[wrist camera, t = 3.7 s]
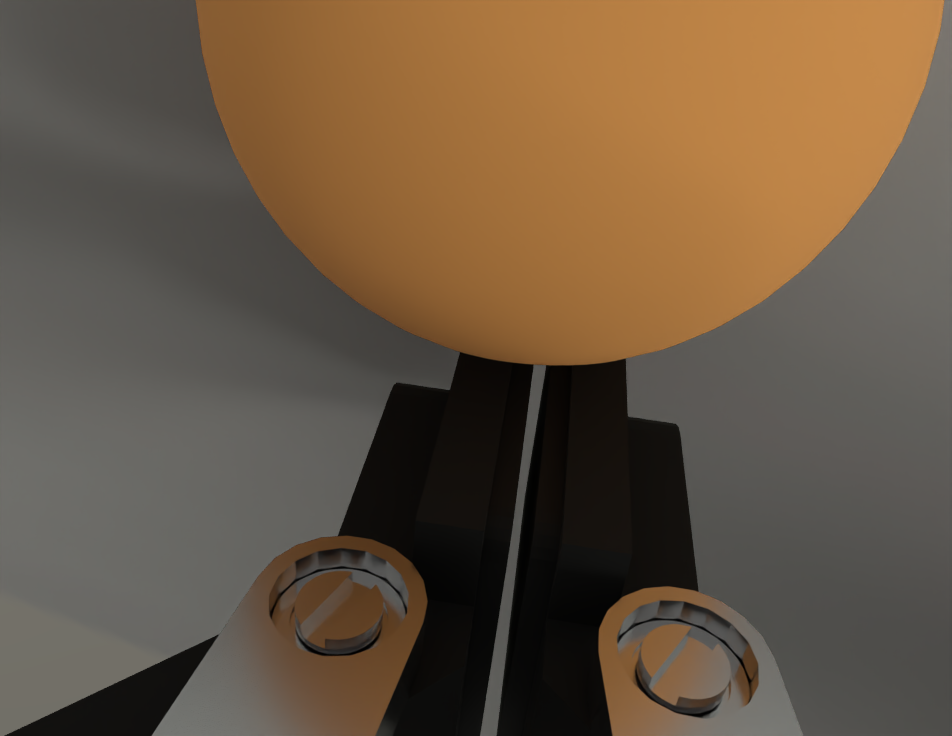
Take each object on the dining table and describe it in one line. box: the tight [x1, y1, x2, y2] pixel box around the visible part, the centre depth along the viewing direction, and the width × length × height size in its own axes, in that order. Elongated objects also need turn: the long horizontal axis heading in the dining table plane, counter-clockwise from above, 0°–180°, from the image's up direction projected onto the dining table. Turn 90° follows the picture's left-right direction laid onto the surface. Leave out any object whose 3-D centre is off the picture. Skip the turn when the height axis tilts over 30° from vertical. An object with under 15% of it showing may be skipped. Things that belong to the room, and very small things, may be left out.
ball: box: [196, 0, 944, 365], centre depth 7 cm, size 6×6×6 cm
